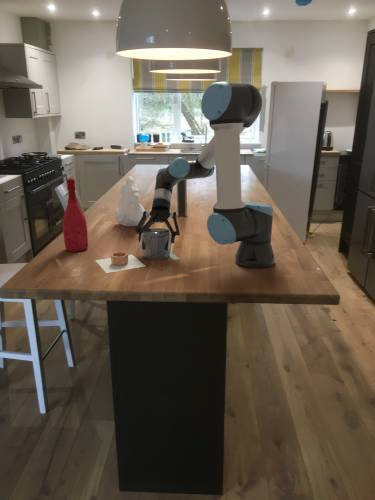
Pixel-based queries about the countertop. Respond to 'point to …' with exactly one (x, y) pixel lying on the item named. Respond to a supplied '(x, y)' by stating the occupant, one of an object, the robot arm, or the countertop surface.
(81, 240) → the wine bottle
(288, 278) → the countertop surface
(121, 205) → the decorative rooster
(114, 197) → the countertop surface
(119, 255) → the bowl
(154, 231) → the grey ribbed cylinder
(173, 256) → the mat
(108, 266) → the board
